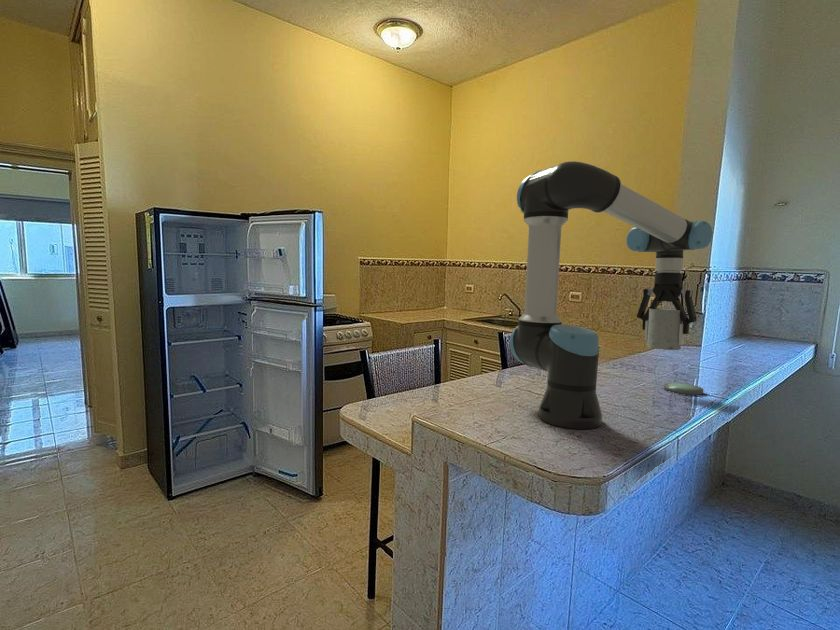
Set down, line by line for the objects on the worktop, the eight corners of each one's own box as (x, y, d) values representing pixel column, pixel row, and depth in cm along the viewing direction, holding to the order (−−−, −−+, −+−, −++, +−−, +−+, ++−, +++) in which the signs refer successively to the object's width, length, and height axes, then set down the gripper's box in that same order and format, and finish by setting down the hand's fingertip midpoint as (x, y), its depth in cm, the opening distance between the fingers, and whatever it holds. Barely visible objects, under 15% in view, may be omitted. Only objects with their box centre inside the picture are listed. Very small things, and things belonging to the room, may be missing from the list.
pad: (663, 392, 140) (663, 387, 140) (664, 385, 150) (664, 380, 150) (703, 397, 135) (704, 392, 135) (702, 390, 144) (702, 385, 144)
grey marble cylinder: (678, 351, 133) (681, 310, 132) (644, 347, 139) (646, 309, 137) (682, 347, 140) (685, 309, 139) (649, 344, 146) (651, 307, 145)
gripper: (713, 272, 131) (707, 345, 133) (638, 272, 148) (634, 337, 150) (704, 271, 126) (698, 348, 128) (627, 271, 143) (623, 339, 145)
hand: (663, 342), depth 139 cm, fingers closed on grey marble cylinder, 9 cm apart
